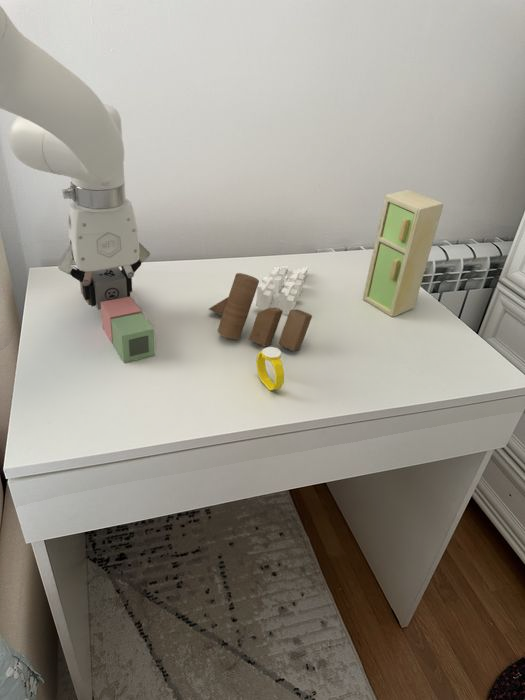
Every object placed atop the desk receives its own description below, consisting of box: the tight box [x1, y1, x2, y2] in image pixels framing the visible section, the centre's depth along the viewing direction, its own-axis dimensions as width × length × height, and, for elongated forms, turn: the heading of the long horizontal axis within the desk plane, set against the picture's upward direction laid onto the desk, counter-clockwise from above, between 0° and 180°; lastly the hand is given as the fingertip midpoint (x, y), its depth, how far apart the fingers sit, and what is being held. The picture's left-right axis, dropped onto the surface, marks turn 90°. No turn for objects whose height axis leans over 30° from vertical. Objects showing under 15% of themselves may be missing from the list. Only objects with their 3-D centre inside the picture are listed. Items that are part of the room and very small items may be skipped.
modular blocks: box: [255, 265, 309, 316], centre depth 104 cm, size 20×7×4 cm, turn 165°
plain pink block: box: [100, 296, 142, 345], centre depth 86 cm, size 5×5×5 cm
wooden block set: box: [208, 272, 313, 352], centre depth 88 cm, size 18×9×10 cm, turn 59°
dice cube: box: [91, 267, 127, 311], centre depth 89 cm, size 5×5×5 cm
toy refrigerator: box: [362, 189, 444, 317], centre depth 97 cm, size 8×7×21 cm
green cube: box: [111, 312, 156, 364], centre depth 83 cm, size 5×5×5 cm
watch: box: [256, 346, 285, 392], centre depth 78 cm, size 6×3×6 cm, turn 28°
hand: (108, 298), depth 90 cm, fingers closed on dice cube, 5 cm apart
